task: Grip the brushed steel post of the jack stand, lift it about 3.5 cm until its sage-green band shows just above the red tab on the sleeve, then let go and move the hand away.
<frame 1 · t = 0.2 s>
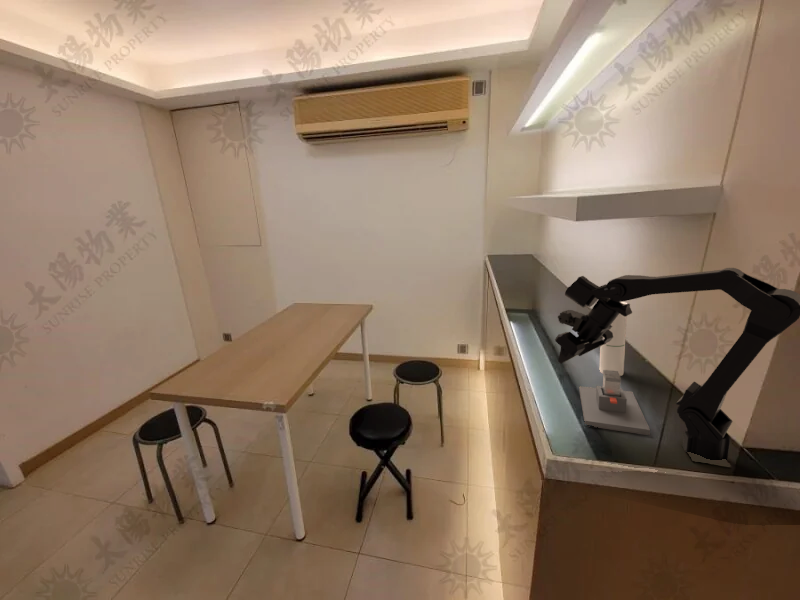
hand: (569, 358, 94), 15 cm above the table, tool tilted 30°, fingers open, 9 cm apart
jack stand base: (610, 410, 92), on the table
steel post: (611, 389, 91), point 6 cm above the table, slide at 0.0 cm
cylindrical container: (611, 372, 114), on the table
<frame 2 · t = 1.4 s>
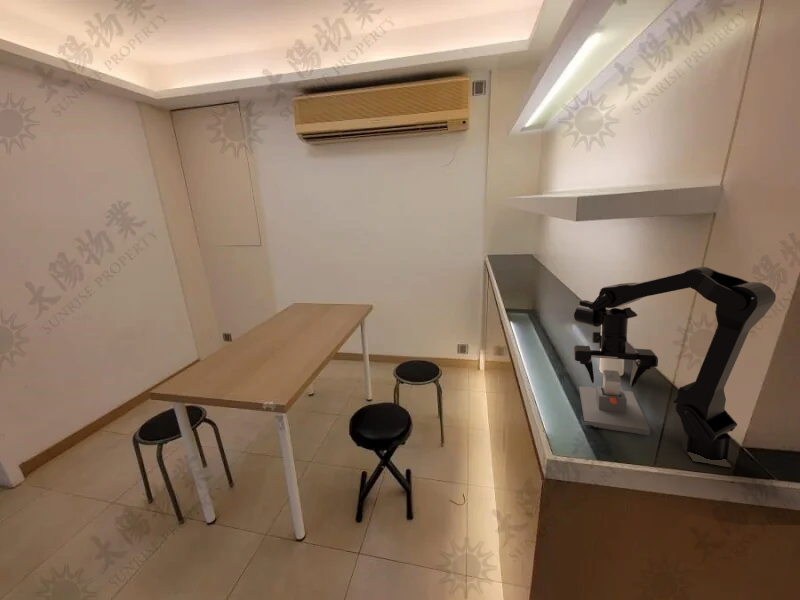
hand: (611, 384, 90), 8 cm above the table, tool pointing down, fingers open, 9 cm apart
nothing on the table moved.
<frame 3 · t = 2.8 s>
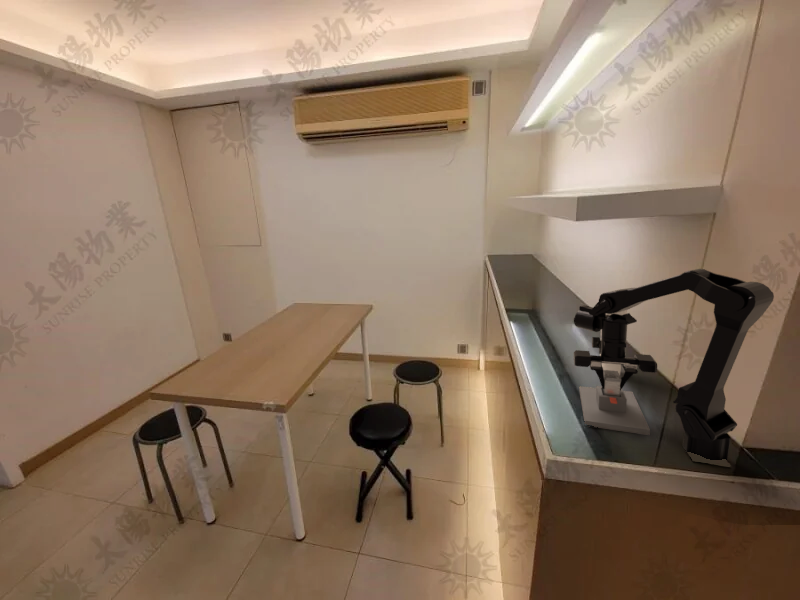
hand: (611, 389, 91), 7 cm above the table, tool pointing down, fingers closed on steel post, 3 cm apart
steel post: (611, 389, 91), point 6 cm above the table, slide at 0.0 cm, touching gripper
everything else where it was.
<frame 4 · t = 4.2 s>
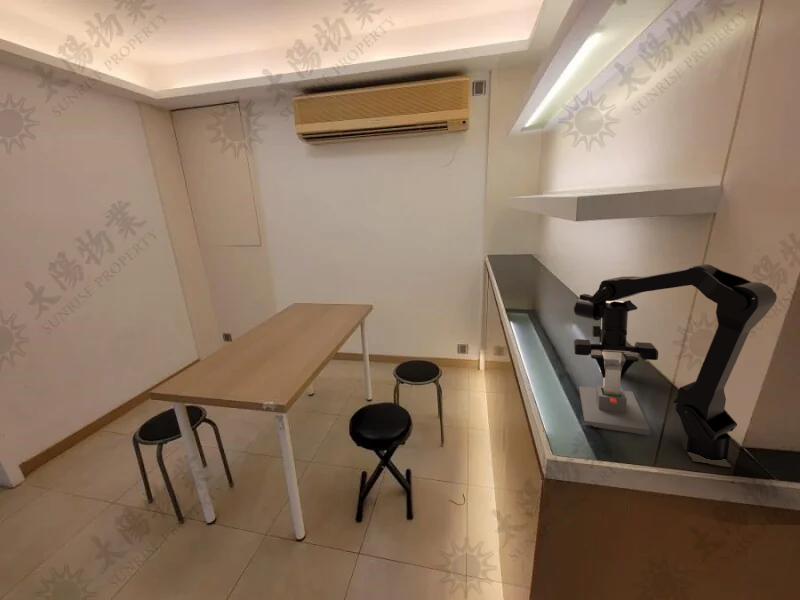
hand: (611, 377, 90), 10 cm above the table, tool pointing down, fingers closed on steel post, 3 cm apart
steel post: (611, 378, 90), point 10 cm above the table, slide at 3.4 cm, touching gripper
everything else where it was.
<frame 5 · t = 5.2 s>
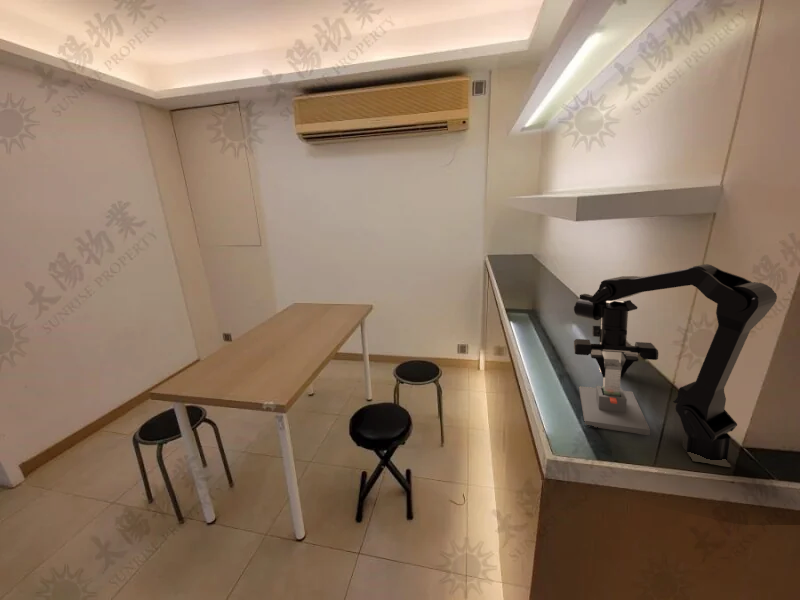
hand: (611, 377, 90), 10 cm above the table, tool pointing down, fingers closed on steel post, 3 cm apart
steel post: (611, 378, 90), point 10 cm above the table, slide at 3.4 cm, touching gripper
everything else where it was.
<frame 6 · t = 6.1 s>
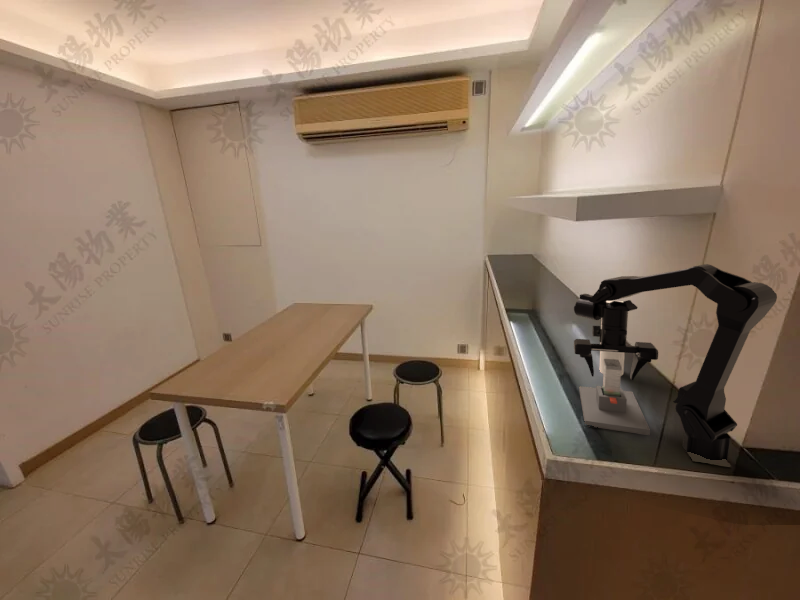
hand: (611, 377, 90), 10 cm above the table, tool pointing down, fingers open, 9 cm apart
steel post: (611, 378, 90), point 10 cm above the table, slide at 3.4 cm
everything else where it was.
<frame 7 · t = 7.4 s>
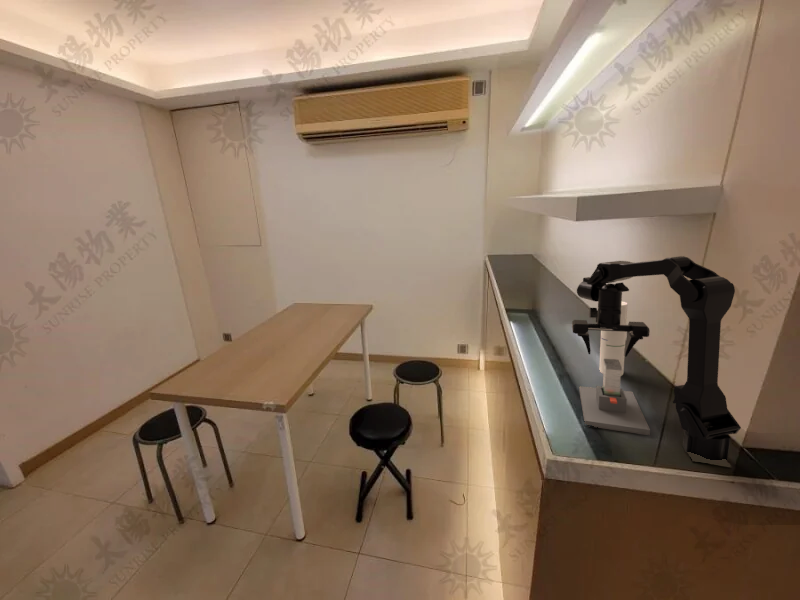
hand: (606, 355, 97), 13 cm above the table, tool pointing down, fingers open, 9 cm apart
nothing on the table moved.
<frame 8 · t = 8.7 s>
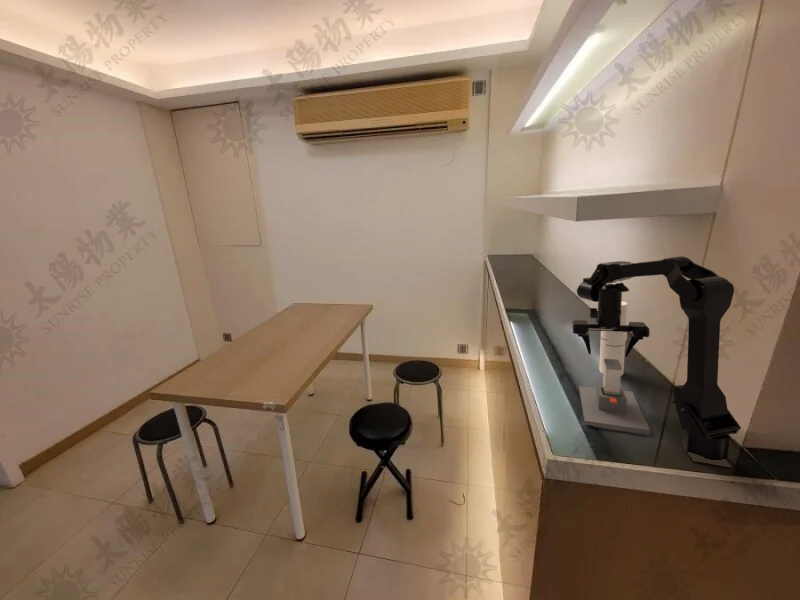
hand: (607, 355, 98), 13 cm above the table, tool pointing down, fingers open, 9 cm apart
nothing on the table moved.
at the end: steel post slide at 3.4 cm; the gripper is holding nothing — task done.
